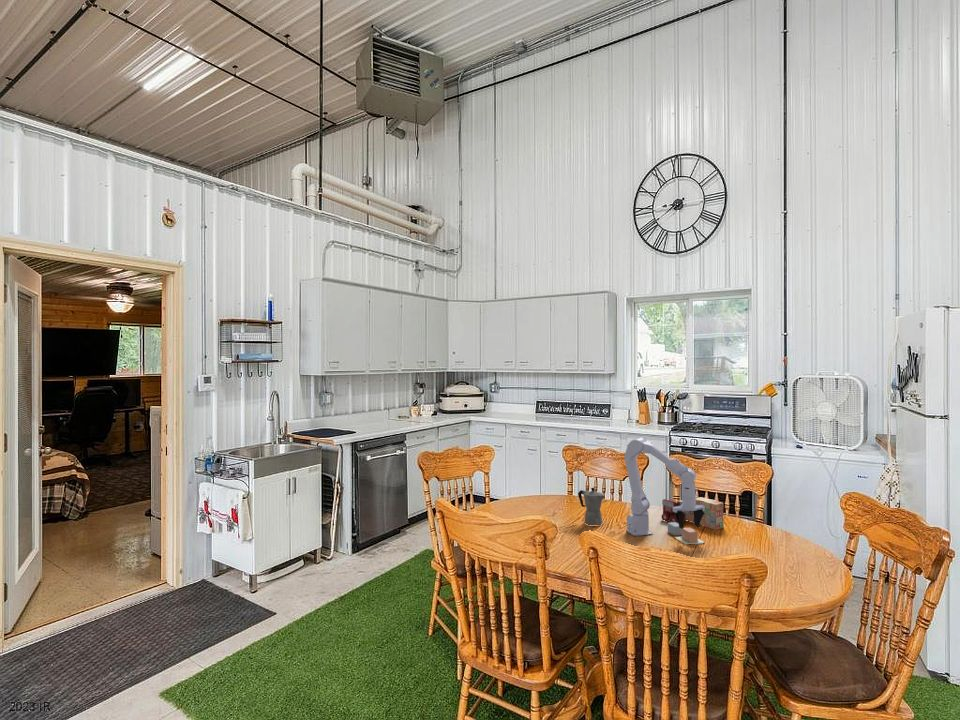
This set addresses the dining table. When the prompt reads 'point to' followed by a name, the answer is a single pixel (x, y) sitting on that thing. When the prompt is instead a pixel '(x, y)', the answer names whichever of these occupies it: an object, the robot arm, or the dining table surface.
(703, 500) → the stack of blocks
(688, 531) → the terracotta brick
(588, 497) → the coffeepot
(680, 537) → the baseplate
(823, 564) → the dining table surface
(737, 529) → the dining table surface
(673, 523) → the slate brick
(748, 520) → the dining table surface
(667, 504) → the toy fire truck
